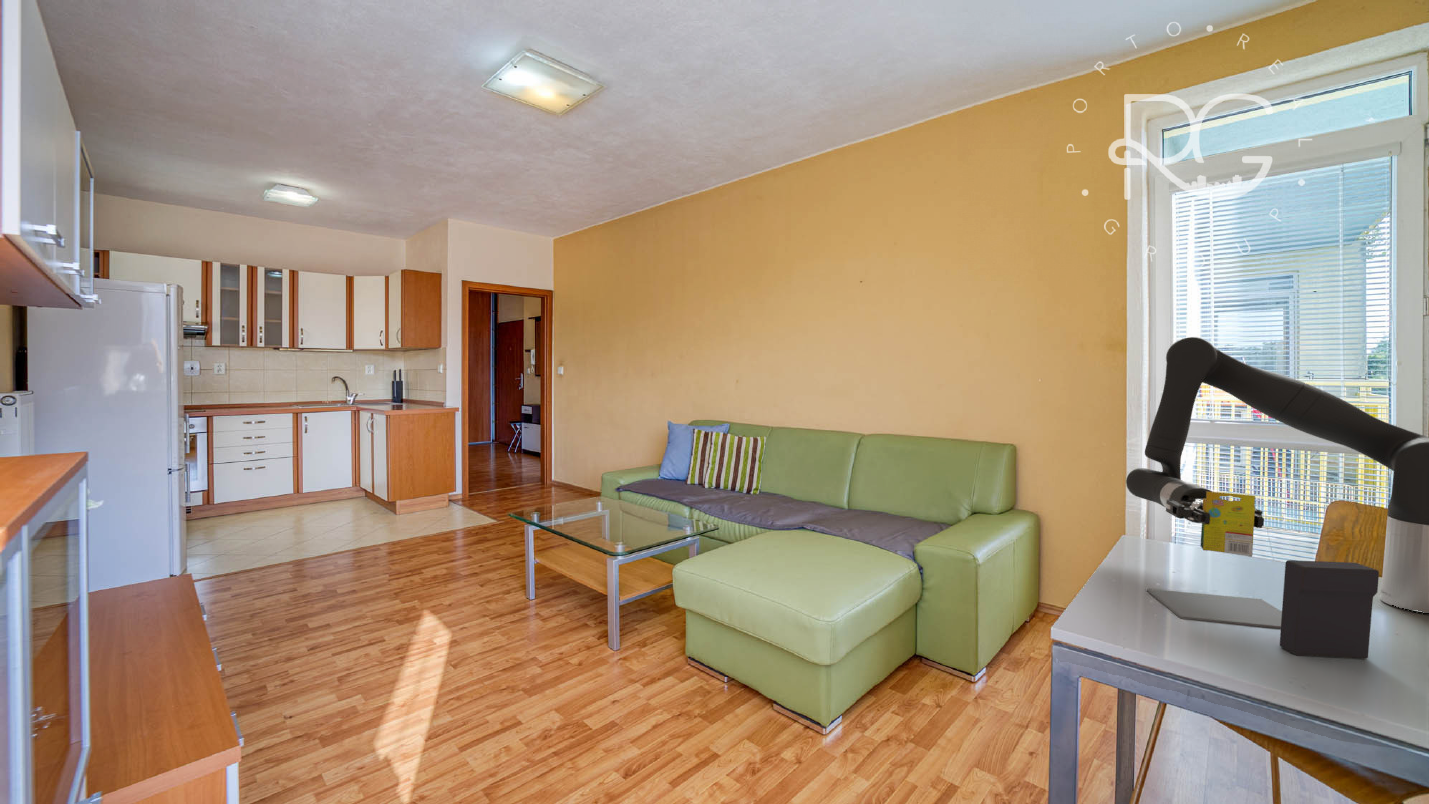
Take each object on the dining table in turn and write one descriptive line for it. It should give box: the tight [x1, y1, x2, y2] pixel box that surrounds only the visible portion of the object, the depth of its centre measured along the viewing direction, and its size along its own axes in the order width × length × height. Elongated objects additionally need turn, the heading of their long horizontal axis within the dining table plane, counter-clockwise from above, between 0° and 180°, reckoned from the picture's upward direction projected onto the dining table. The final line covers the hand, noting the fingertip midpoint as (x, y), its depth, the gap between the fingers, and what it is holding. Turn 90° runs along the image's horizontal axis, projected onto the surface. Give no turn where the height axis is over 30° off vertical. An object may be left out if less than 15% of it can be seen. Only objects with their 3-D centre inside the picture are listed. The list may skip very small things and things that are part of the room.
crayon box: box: [1199, 491, 1256, 558], centre depth 112 cm, size 7×3×12 cm, turn 58°
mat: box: [1145, 588, 1282, 630], centre depth 113 cm, size 20×14×1 cm
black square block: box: [1279, 559, 1380, 660], centre depth 96 cm, size 11×4×15 cm, turn 84°
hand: (1234, 521), depth 110 cm, fingers closed on crayon box, 8 cm apart
